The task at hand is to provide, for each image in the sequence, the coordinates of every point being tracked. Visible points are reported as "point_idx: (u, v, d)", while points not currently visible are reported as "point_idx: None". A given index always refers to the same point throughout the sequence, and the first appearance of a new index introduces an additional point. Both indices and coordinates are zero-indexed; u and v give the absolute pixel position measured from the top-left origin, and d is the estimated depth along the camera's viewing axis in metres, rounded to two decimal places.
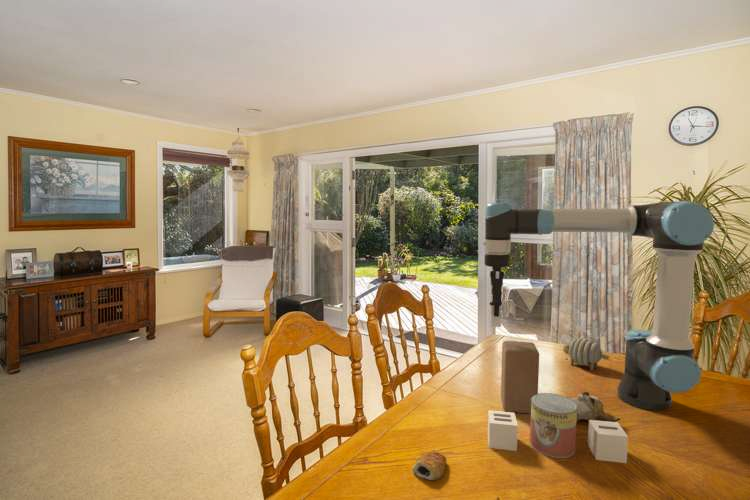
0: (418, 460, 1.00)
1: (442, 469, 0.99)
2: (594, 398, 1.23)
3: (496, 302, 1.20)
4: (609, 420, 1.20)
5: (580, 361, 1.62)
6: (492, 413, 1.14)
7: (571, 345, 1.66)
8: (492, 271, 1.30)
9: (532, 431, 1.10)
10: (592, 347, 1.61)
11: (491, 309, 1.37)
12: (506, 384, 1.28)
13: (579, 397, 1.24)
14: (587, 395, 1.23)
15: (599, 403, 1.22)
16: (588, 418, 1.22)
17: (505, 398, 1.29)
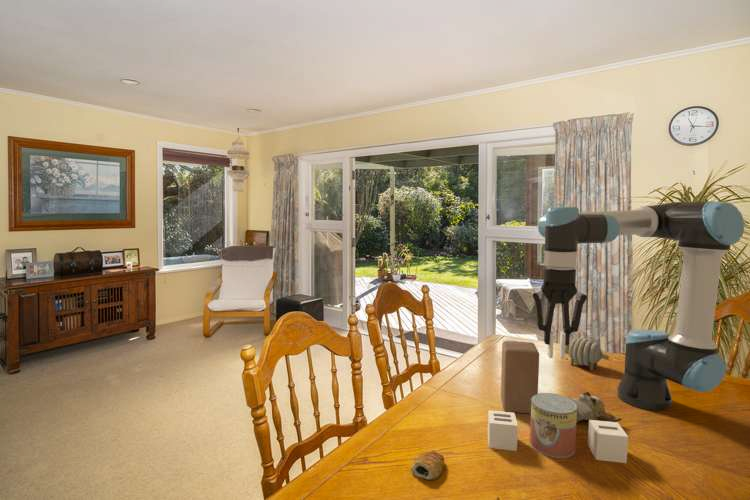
0: (416, 460, 1.00)
1: (440, 469, 0.99)
2: (595, 398, 1.23)
3: (538, 325, 1.09)
4: (610, 420, 1.20)
5: (580, 361, 1.62)
6: (492, 413, 1.14)
7: (571, 345, 1.66)
8: None
9: (532, 431, 1.10)
10: (592, 347, 1.61)
11: (559, 348, 1.09)
12: (506, 384, 1.28)
13: (580, 397, 1.24)
14: (588, 395, 1.23)
15: (600, 403, 1.22)
16: (589, 418, 1.22)
17: (505, 398, 1.29)
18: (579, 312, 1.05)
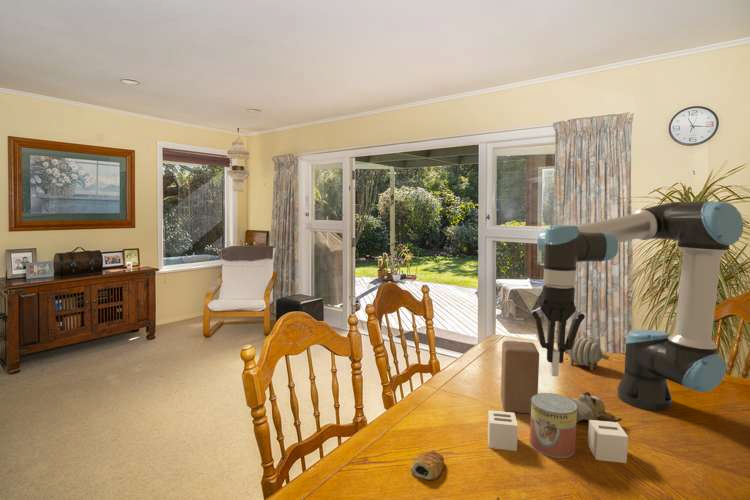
0: (416, 460, 1.00)
1: (440, 469, 0.99)
2: (595, 398, 1.23)
3: (540, 343, 1.09)
4: (611, 420, 1.20)
5: (580, 361, 1.62)
6: (492, 413, 1.14)
7: None
8: None
9: (532, 431, 1.10)
10: (592, 347, 1.61)
11: None
12: (506, 384, 1.28)
13: (580, 397, 1.24)
14: (588, 395, 1.23)
15: (600, 403, 1.22)
16: (590, 418, 1.22)
17: (505, 398, 1.29)
18: (575, 331, 1.06)
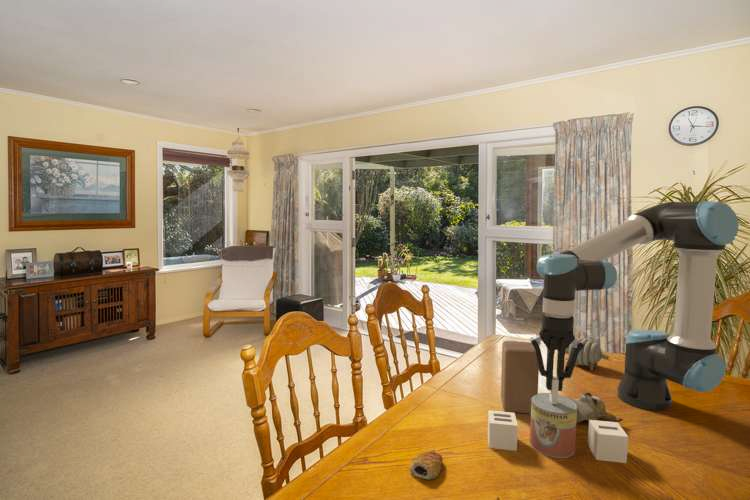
0: (415, 460, 1.00)
1: (439, 468, 0.99)
2: (596, 399, 1.23)
3: (540, 371, 1.10)
4: (612, 420, 1.20)
5: (580, 361, 1.62)
6: (492, 413, 1.14)
7: (571, 345, 1.66)
8: None
9: (532, 431, 1.10)
10: (592, 347, 1.61)
11: None
12: (506, 384, 1.28)
13: (581, 398, 1.23)
14: (589, 396, 1.23)
15: (601, 404, 1.22)
16: (591, 419, 1.22)
17: (505, 398, 1.29)
18: (574, 359, 1.07)
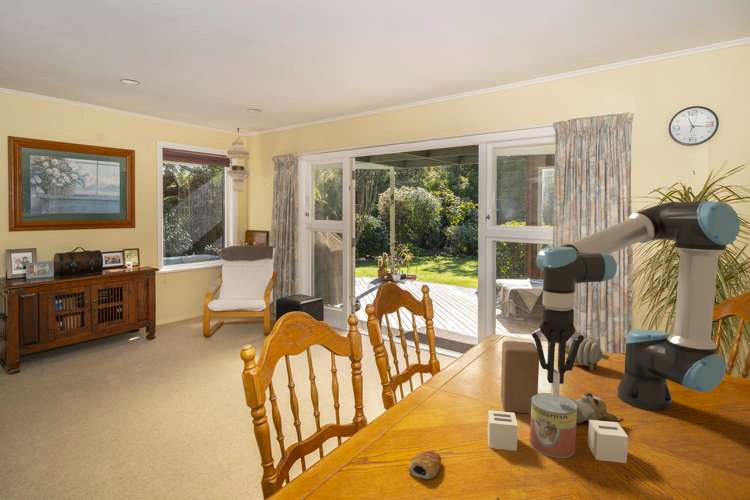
0: (414, 460, 1.00)
1: (438, 468, 0.99)
2: (597, 399, 1.23)
3: (541, 364, 1.10)
4: (613, 421, 1.19)
5: (580, 361, 1.62)
6: (492, 413, 1.14)
7: None
8: None
9: (532, 431, 1.10)
10: (592, 347, 1.61)
11: None
12: (506, 384, 1.28)
13: (583, 398, 1.23)
14: (591, 396, 1.22)
15: (603, 404, 1.22)
16: (592, 419, 1.21)
17: (505, 398, 1.29)
18: (575, 352, 1.06)
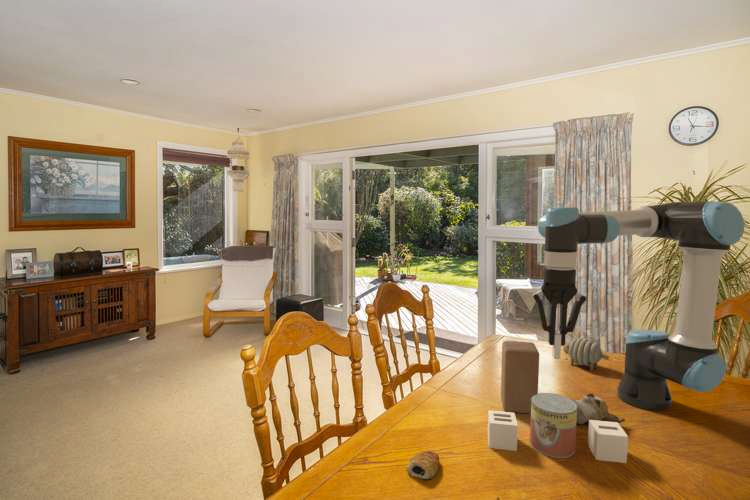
0: (412, 460, 1.00)
1: (436, 468, 0.99)
2: (599, 399, 1.22)
3: (542, 326, 1.09)
4: (615, 421, 1.19)
5: (580, 361, 1.62)
6: (492, 413, 1.14)
7: (571, 345, 1.66)
8: None
9: (532, 431, 1.10)
10: (592, 347, 1.61)
11: None
12: (506, 384, 1.28)
13: (584, 399, 1.23)
14: (592, 397, 1.22)
15: (604, 404, 1.21)
16: None
17: (505, 398, 1.29)
18: (577, 313, 1.05)
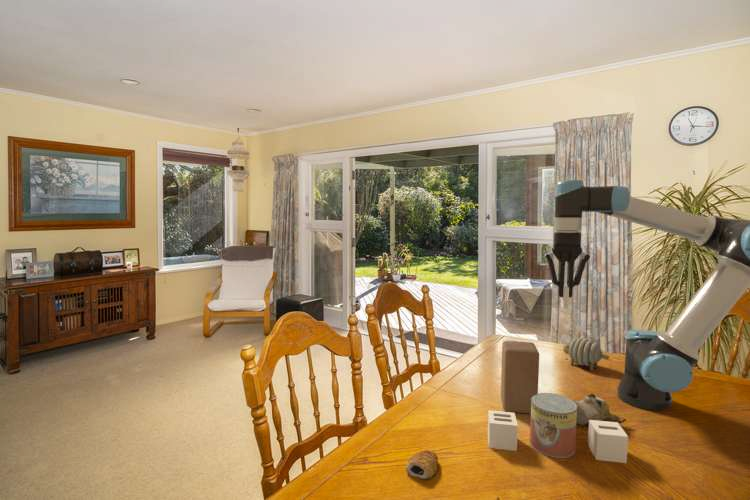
0: (411, 459, 1.00)
1: (435, 467, 0.99)
2: (600, 400, 1.22)
3: (553, 281, 1.29)
4: (616, 421, 1.19)
5: (580, 361, 1.62)
6: (492, 413, 1.14)
7: (571, 345, 1.66)
8: None
9: (532, 431, 1.10)
10: (592, 347, 1.61)
11: None
12: (506, 384, 1.28)
13: (586, 400, 1.22)
14: (593, 397, 1.22)
15: (605, 405, 1.21)
16: None
17: (505, 398, 1.29)
18: (582, 269, 1.26)
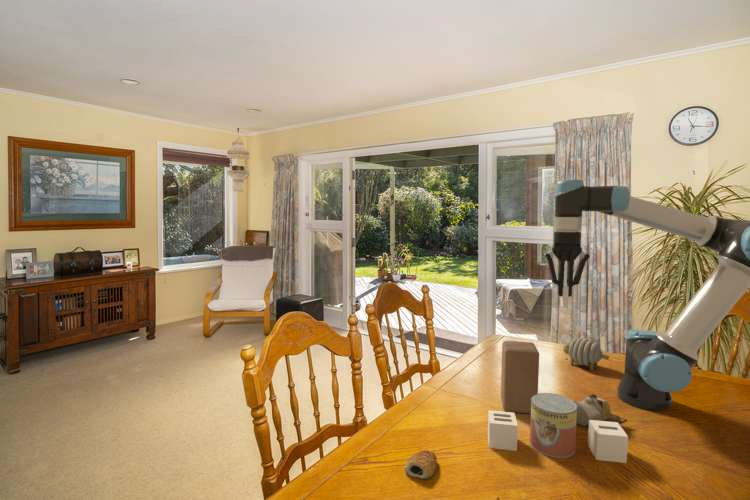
0: (410, 460, 1.00)
1: (434, 467, 0.99)
2: (601, 400, 1.22)
3: (552, 280, 1.30)
4: (618, 422, 1.19)
5: (580, 361, 1.62)
6: (492, 413, 1.14)
7: (571, 345, 1.66)
8: None
9: (532, 431, 1.10)
10: (592, 347, 1.61)
11: None
12: (506, 384, 1.28)
13: (587, 400, 1.22)
14: (595, 398, 1.21)
15: (607, 405, 1.21)
16: None
17: (505, 398, 1.29)
18: (581, 268, 1.26)
